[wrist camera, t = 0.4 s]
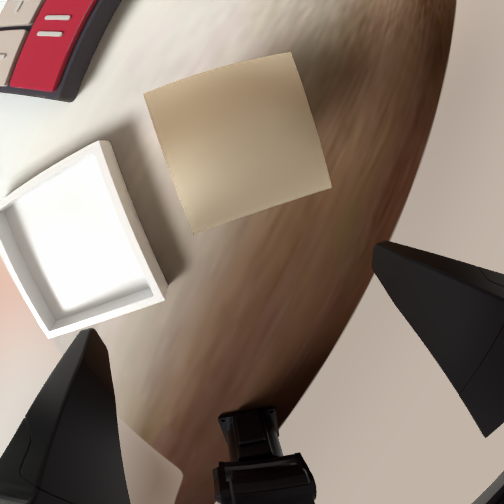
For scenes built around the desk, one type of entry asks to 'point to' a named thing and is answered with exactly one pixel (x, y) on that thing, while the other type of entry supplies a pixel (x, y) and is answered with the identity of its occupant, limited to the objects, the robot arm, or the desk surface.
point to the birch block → (238, 139)
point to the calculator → (50, 45)
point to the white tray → (79, 244)
